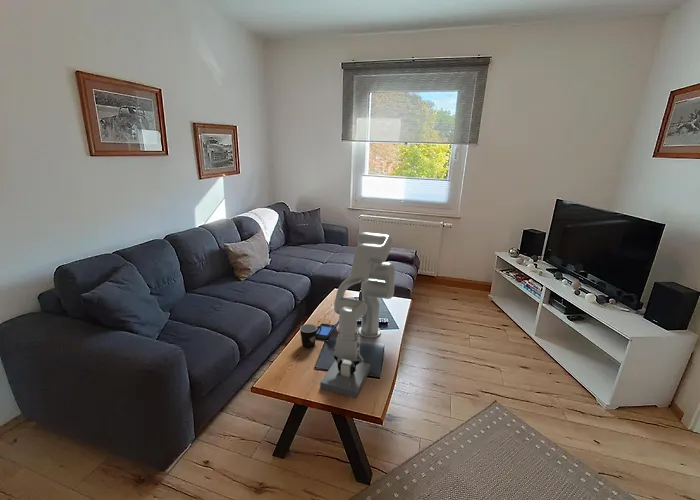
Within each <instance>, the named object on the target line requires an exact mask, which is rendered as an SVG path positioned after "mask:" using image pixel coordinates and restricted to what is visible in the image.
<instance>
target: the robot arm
mask: <svg viewBox="0 0 700 500" xmlns="http://www.w3.org/2000/svg"><path fill="white" fill-rule="evenodd" d="M356 243H357V246H356V247H355V250H354V254H353V255H354V256H353V258H352V259H353V260H352V266H351V269H350V274H349V276H347V277H346V278H345V279H344V280H343V281H342V282H341V283H340V285H339V287H338V288H337V290H336V295H335V299H334V305H333V307H334V308H333V309H334V312H335V313H336V314H338V321H339V324H338V335H337V337H336V341H335V347H334V349H333V350H332V351H331V352H330V355H331V356H332V357H333V358H334V361H335V360H336V361H337V363H338V371H339V372H340V371H341V364H342V360H341V359H345V360H349V361H351V363H352V366H351V375H353V373H354V372H355V371H356V365H358V364H359V363H361V362H363V363H364V360H365V359H364V358H363V357H362V355H361V353H360V352H361V349H360V348H361V346H360V340H359V338H360V336H362V337H363V338H368V339H374V338H378V337H379V336H381V335H382V334H381V333H382V330H381V328H380V327H379V324H380V323H379V322H380V307H381V305H380V304H381V303H380V301H379V299H385V300H390V299H392V298H393V296H394V293H395V278H396V277H395V276H396V269H395V265H394V263H392V262H388V261H387V259H388V256H389V254H390V252H391V249H392V246H393V238H392V236H391V235H389V234H386V233H376V232H366V231H363V232H359V233H357V235H356ZM360 283H361V286H360V290H361V298H362V299H360V300H359V299H354V298H349V297H344V296H345V293H346V291H347V290H348V289H349V288H350V287H351V286H355V285H356V284H360ZM359 320H361V321H360V322H361V325H360V327H358V321H359ZM357 327H358V329H357Z"/></svg>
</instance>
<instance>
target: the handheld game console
mask: <svg viewBox="0 0 700 500" xmlns="http://www.w3.org/2000/svg"><path fill="white" fill-rule="evenodd" d="M319 326H320V327H321V332H320V333H319V331H320V328H317V333H316V335H317V334H318V333H319V334H318V336H317V337H316V340H319V341H325V342H327V341H326V340H328V341H329V340H330V338H331V337H332V334H333V333H334V332H335V330H336V329H337V328H338V327H339V320H338V321H337V322H336V323H335V324H331V323H330V324H329V323H324V322H323V323H321V324H320V325H319Z"/></svg>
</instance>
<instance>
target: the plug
mask: <svg viewBox="0 0 700 500" xmlns="http://www.w3.org/2000/svg"><path fill="white" fill-rule="evenodd" d="M351 366H352V363H351V361H349V360H345V359H344V361H343V362H342V364H341V376H344V377H348V378H351V376H352V375H351Z"/></svg>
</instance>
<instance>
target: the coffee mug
mask: <svg viewBox="0 0 700 500" xmlns="http://www.w3.org/2000/svg"><path fill="white" fill-rule="evenodd" d="M318 328H320V331H319V333H320V332H321V327H320V325H318V326H316V325H315V324H312V323H307V324H306V323H305V324H301V326H300V328H299V331H300V339H301V345H302V346H301V347H302V348H303V349H306V350H311V349H314V348H315V347H316V341H317V339H316V337H317V336H318V334H319V333H318V334H317V335H316V333H317V329H318Z"/></svg>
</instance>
